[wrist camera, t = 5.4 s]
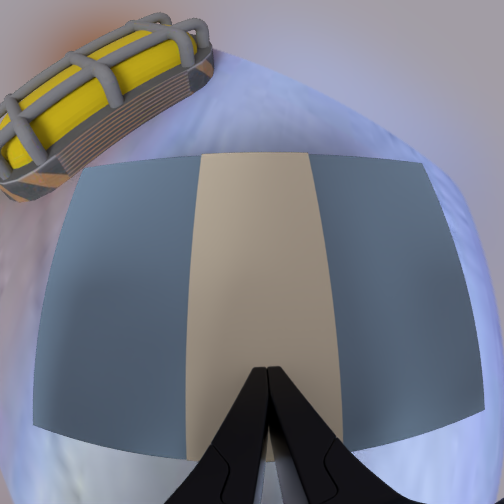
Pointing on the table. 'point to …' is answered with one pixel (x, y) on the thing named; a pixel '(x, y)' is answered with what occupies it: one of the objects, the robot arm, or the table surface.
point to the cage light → (97, 100)
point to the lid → (253, 301)
